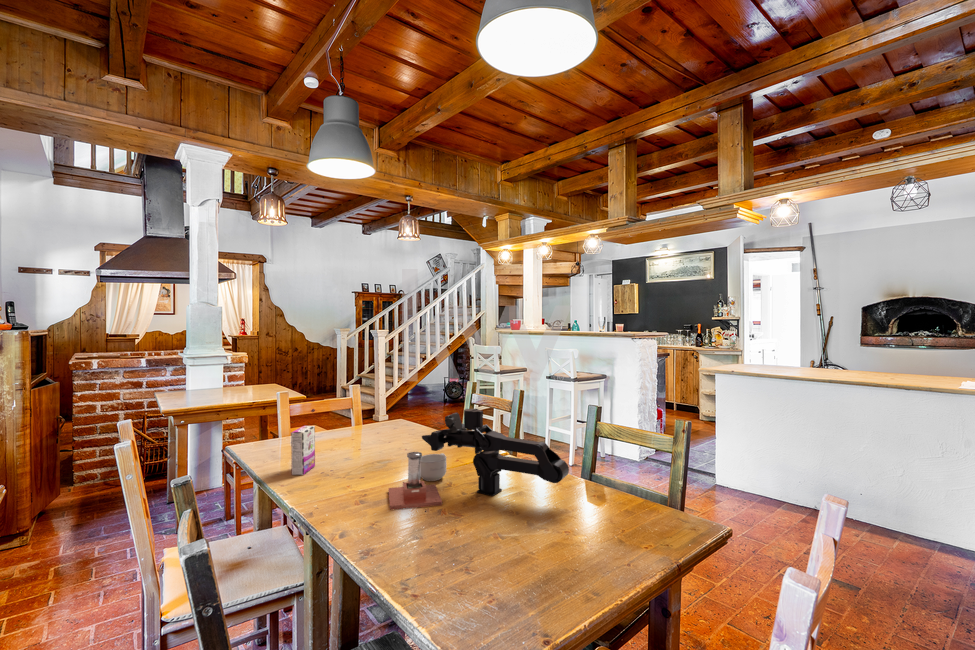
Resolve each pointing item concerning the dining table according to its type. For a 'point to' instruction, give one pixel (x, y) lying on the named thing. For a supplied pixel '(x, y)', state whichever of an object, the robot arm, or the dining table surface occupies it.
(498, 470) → the robot arm
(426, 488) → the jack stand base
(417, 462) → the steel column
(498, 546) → the dining table surface
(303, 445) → the candy bar box
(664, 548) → the dining table surface
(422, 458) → the teacup
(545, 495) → the dining table surface
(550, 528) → the dining table surface
